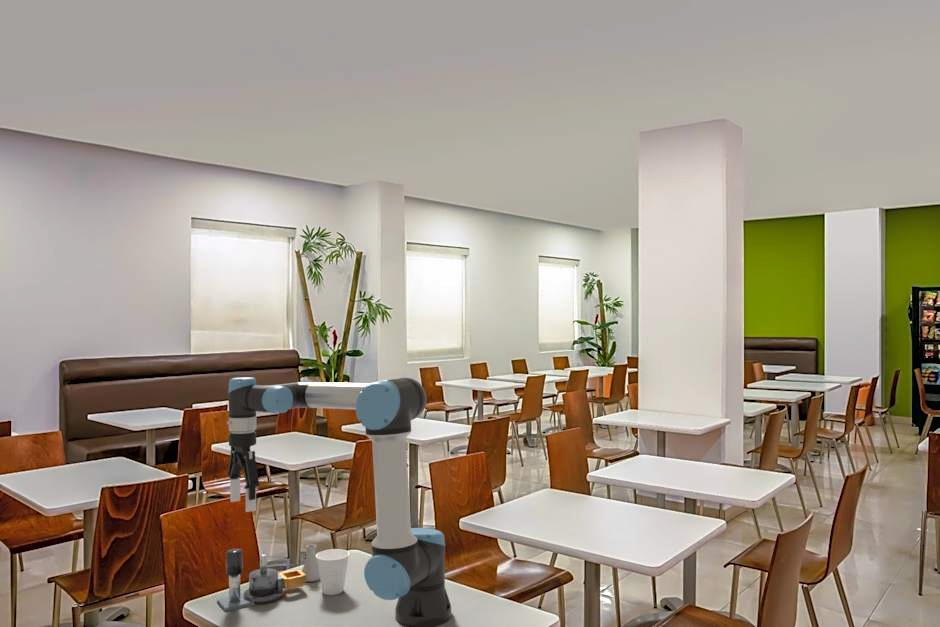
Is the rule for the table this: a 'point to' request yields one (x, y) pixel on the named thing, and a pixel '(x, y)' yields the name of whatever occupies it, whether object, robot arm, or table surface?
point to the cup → (332, 570)
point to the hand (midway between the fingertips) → (242, 506)
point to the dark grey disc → (264, 597)
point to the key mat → (230, 606)
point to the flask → (311, 565)
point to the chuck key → (234, 573)
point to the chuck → (273, 579)
